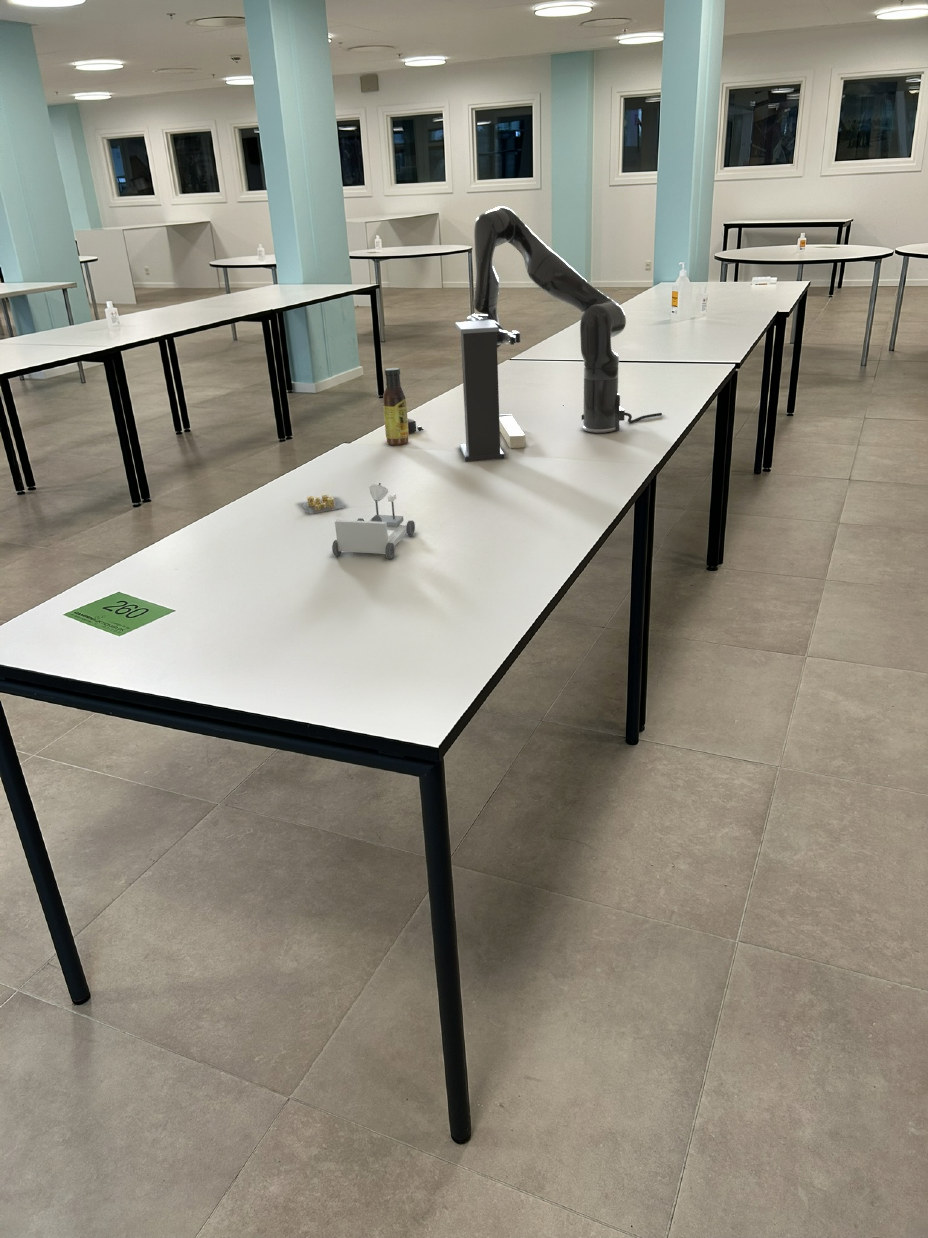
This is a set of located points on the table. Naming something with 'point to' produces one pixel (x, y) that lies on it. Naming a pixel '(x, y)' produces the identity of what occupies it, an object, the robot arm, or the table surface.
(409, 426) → the wireless earbuds
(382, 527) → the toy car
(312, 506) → the dice set
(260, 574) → the table surface
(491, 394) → the dark grey pillar
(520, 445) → the cream rectangular bar
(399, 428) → the sauce bottle
